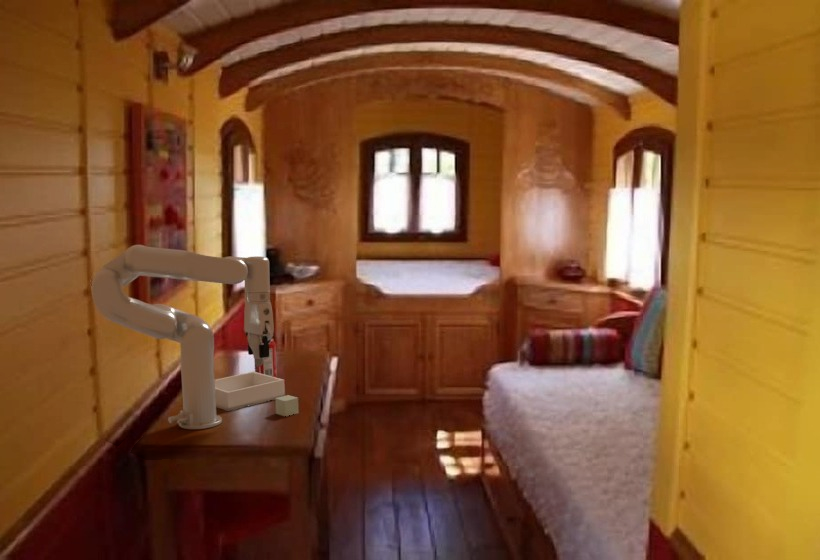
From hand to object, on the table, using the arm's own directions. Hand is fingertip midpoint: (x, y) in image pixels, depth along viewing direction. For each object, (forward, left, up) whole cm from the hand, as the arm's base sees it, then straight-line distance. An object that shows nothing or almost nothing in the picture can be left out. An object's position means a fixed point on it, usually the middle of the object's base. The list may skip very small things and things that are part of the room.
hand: (258, 355), depth 242 cm
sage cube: (+7, -4, -19) cm, 21 cm away
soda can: (+28, +37, -19) cm, 50 cm away
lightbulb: (0, 0, -4) cm, 4 cm away
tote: (+7, +21, -19) cm, 29 cm away
